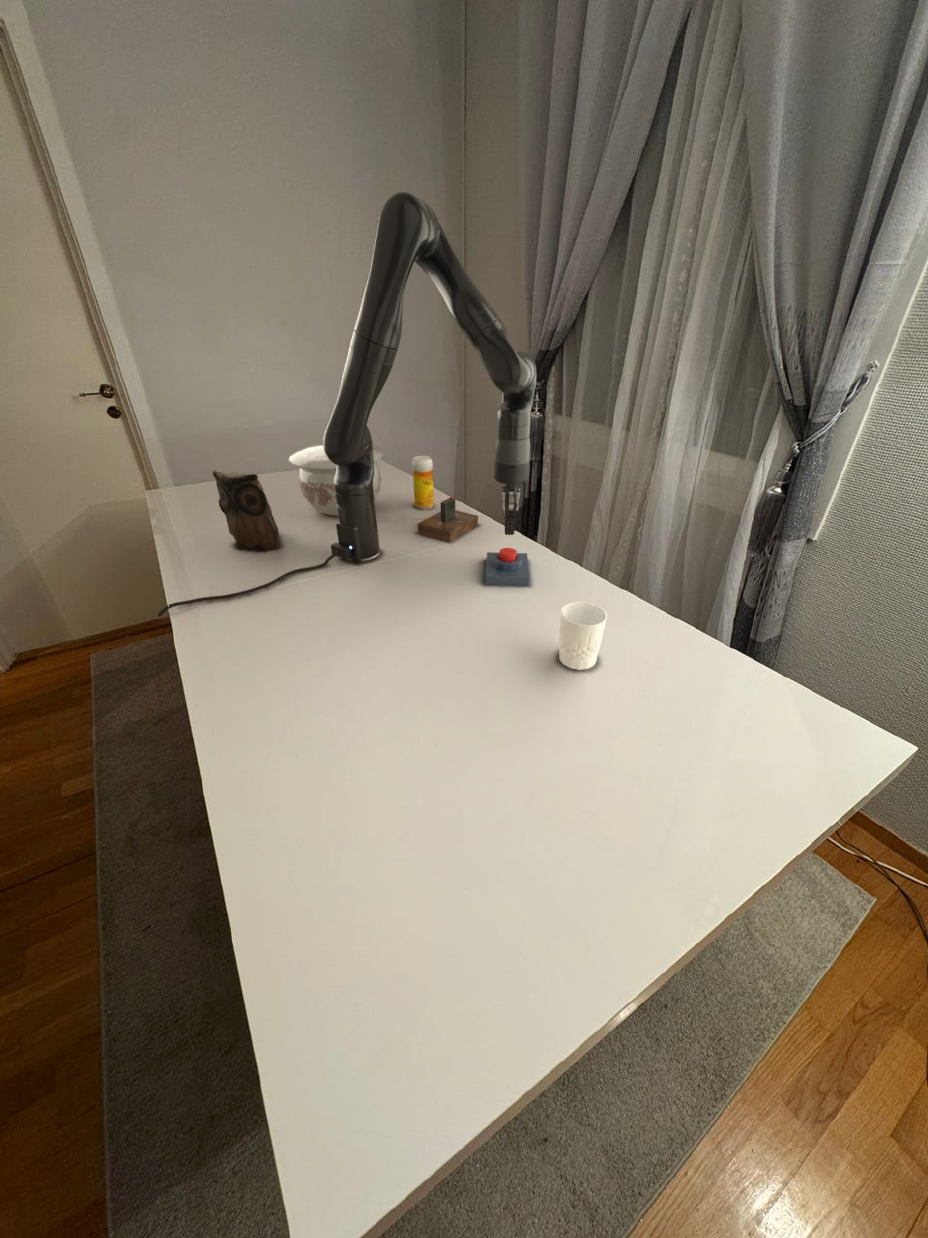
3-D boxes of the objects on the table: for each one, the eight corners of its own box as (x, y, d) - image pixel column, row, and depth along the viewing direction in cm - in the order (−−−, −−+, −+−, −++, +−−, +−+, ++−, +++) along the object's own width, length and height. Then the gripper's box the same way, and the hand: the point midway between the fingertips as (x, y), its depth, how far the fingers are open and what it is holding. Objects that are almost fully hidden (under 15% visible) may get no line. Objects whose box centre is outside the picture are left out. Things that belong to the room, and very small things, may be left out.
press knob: (516, 563, 121) (516, 555, 120) (499, 562, 121) (499, 554, 120) (515, 555, 125) (516, 547, 124) (499, 555, 125) (499, 547, 124)
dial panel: (450, 542, 140) (450, 531, 138) (418, 533, 145) (417, 522, 143) (477, 525, 150) (478, 515, 148) (446, 517, 155) (446, 507, 153)
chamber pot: (381, 525, 150) (374, 452, 139) (287, 525, 150) (272, 452, 139) (393, 493, 173) (388, 428, 162) (312, 492, 174) (301, 428, 163)
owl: (283, 549, 136) (267, 474, 125) (232, 558, 132) (210, 481, 121) (276, 532, 146) (261, 460, 135) (229, 540, 142) (209, 466, 131)
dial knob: (445, 522, 144) (445, 502, 141) (440, 521, 144) (440, 501, 141) (455, 516, 147) (455, 497, 144) (451, 515, 148) (450, 496, 145)
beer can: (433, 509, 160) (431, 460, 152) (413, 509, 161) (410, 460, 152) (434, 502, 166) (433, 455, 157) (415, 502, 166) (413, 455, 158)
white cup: (601, 651, 98) (609, 606, 92) (596, 676, 92) (604, 629, 86) (559, 643, 100) (565, 598, 95) (552, 667, 94) (557, 621, 88)
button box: (528, 586, 119) (529, 570, 117) (485, 584, 120) (485, 569, 118) (526, 561, 130) (527, 546, 128) (486, 560, 131) (487, 545, 129)
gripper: (494, 449, 116) (493, 522, 125) (494, 466, 105) (492, 545, 114) (528, 449, 116) (524, 522, 125) (531, 467, 105) (526, 545, 114)
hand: (509, 533), depth 120 cm, fingers closed
